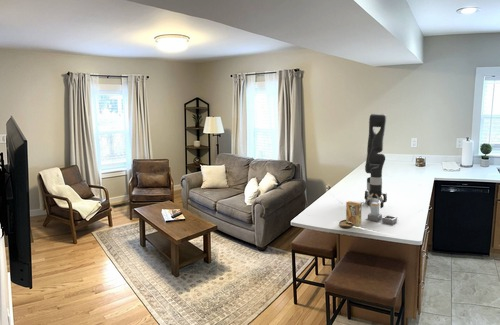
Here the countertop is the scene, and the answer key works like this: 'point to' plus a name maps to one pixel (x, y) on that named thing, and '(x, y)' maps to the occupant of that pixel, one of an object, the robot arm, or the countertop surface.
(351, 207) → the candy box
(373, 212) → the plug
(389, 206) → the countertop surface
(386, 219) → the grey boxy piece
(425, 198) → the countertop surface
